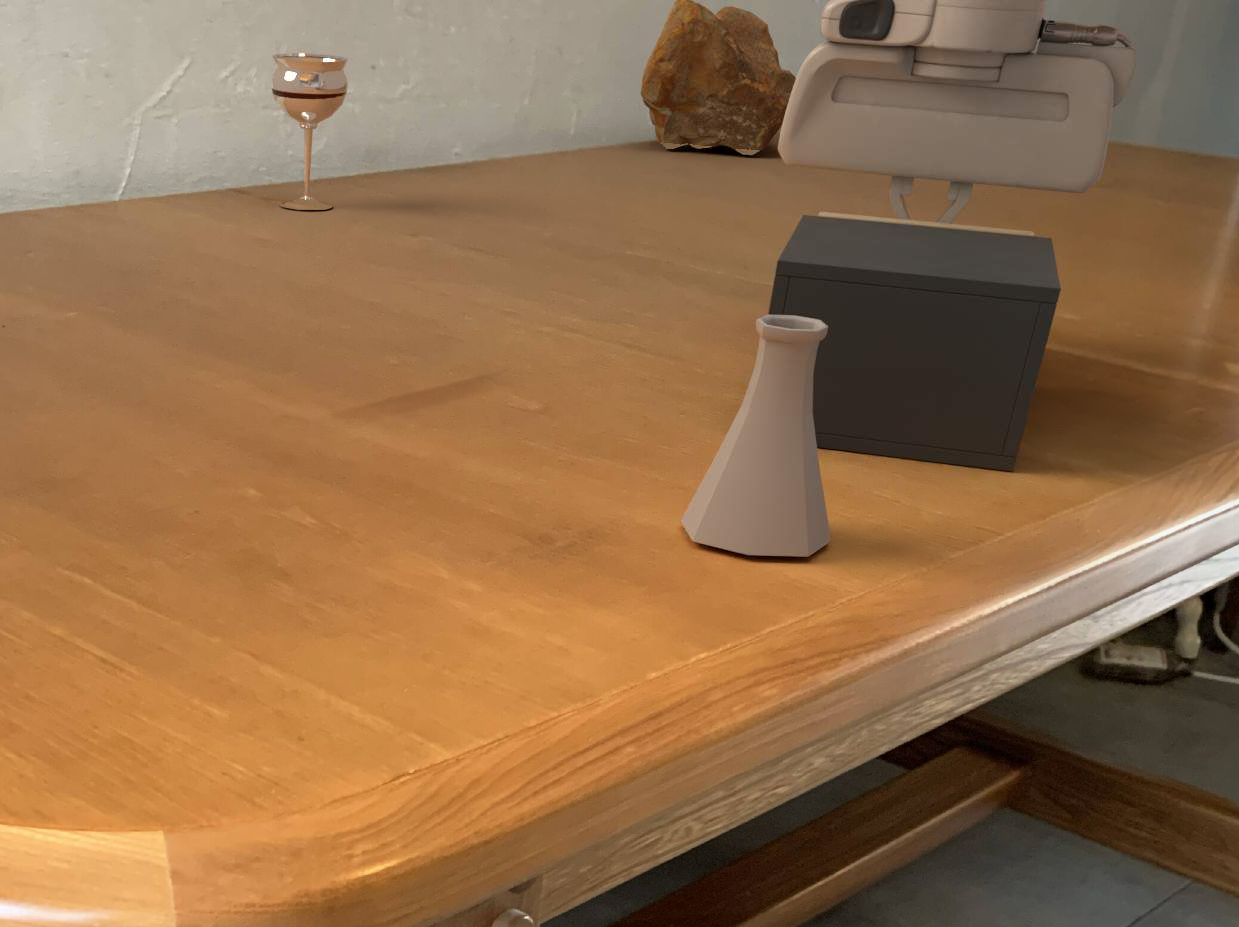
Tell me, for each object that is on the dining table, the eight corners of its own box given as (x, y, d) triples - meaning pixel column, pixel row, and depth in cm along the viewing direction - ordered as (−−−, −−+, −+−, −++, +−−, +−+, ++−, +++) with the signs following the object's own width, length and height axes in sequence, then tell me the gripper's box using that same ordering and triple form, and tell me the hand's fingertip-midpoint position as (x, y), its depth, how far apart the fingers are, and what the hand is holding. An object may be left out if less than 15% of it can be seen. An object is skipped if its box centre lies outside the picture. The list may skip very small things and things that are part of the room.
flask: (833, 523, 84) (876, 313, 79) (825, 571, 78) (871, 347, 73) (688, 505, 86) (720, 298, 80) (670, 550, 80) (703, 330, 74)
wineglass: (358, 208, 154) (364, 59, 148) (306, 215, 150) (310, 63, 144) (305, 197, 158) (309, 51, 152) (253, 204, 154) (255, 54, 147)
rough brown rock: (744, 175, 186) (782, 21, 177) (610, 143, 192) (640, -7, 184) (816, 161, 202) (854, 20, 194) (690, 132, 209) (722, -6, 200)
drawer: (803, 321, 118) (825, 200, 114) (1002, 342, 115) (1032, 219, 111) (776, 386, 103) (800, 249, 99) (1004, 412, 100) (1040, 272, 96)
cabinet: (774, 375, 109) (802, 214, 104) (1010, 402, 105) (1052, 237, 100) (746, 438, 96) (777, 259, 91) (1013, 471, 93) (1061, 287, 88)
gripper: (1142, 23, 105) (1077, 261, 112) (808, -1, 109) (768, 229, 117) (1149, 30, 100) (1081, 279, 107) (799, 5, 104) (758, 244, 112)
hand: (915, 252), depth 112 cm, fingers closed, pressing on drawer
